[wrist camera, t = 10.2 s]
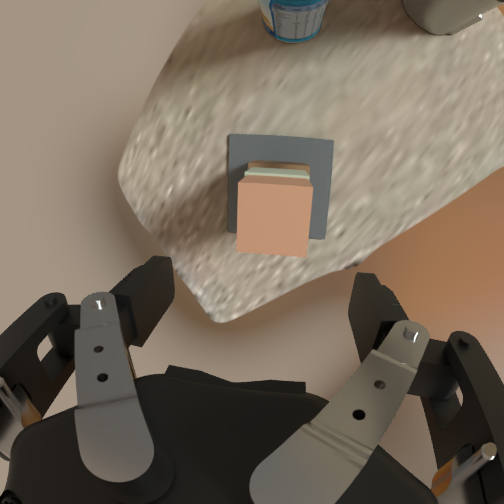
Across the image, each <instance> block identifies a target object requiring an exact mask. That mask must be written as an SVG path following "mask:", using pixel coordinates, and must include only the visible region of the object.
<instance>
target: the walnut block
mask: <svg viewBox="0 0 504 504" xmlns="http://www.w3.org/2000/svg"><path fill="white" fill-rule="evenodd" d="M252 167H260V168H278V169H292V170H305V171H306V172H307V173H308V175H310V166H309V165H308V164H307V163H295V162H281V161H264V160H253V161H251V162H249V163H248V170H249V169H250V168H252Z"/></svg>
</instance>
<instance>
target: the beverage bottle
mask: <svg viewBox="0 0 504 504" xmlns="http://www.w3.org/2000/svg"><path fill="white" fill-rule="evenodd" d="M258 1H259V5H260V9H261V13H262V22H263V25H264V28H265V29H266V31H267V32H268V33H269V34H270V35H271V36H273V37H274V38H276V39H278V40H280V41H283V42H288V43H300V42H305V41H307V40H310V39H311V38H313V37H314V36H315V35H316V34H317V33H318V32H319V30H320V28H321V24H322V19H323V16H324V12H325V9H326V6H327V3H328V2H329V0H258Z"/></svg>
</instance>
